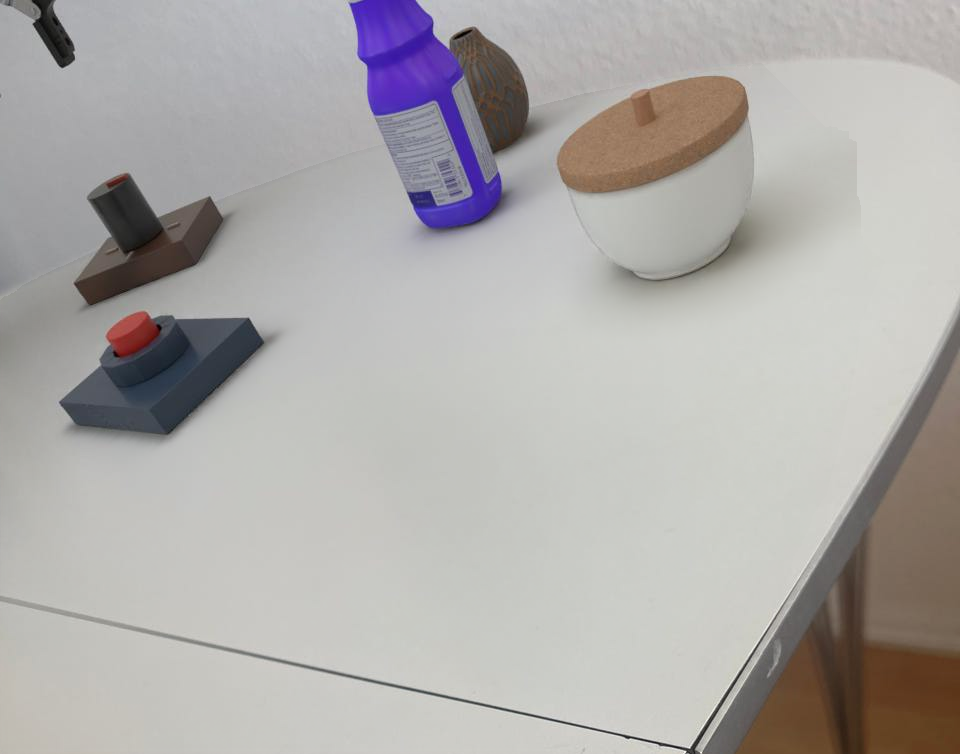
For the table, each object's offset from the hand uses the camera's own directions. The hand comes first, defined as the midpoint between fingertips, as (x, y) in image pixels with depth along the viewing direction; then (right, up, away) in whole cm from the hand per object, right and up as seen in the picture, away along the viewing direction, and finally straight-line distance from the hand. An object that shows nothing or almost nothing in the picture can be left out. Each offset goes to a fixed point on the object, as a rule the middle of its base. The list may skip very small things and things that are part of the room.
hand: (30, 83), depth 87 cm
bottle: (+38, -16, -9) cm, 42 cm away
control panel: (+6, -10, +14) cm, 18 cm away
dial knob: (+6, -9, +12) cm, 16 cm away
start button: (+14, -27, -12) cm, 32 cm away
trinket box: (+52, -25, -27) cm, 64 cm away
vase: (+41, -6, -1) cm, 42 cm away
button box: (+15, -29, -10) cm, 34 cm away
